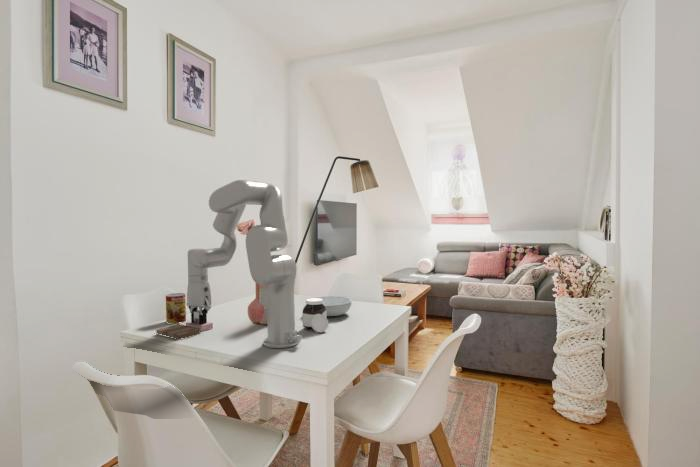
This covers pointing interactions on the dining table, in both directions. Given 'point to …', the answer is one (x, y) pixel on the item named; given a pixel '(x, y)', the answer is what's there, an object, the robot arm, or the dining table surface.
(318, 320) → the spread jar
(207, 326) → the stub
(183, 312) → the canned food
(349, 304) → the serving bowl
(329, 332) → the dining table surface
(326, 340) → the dining table surface
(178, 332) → the brown flat block
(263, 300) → the cracker box
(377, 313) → the dining table surface
